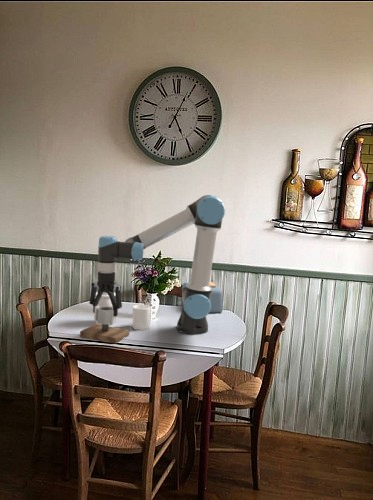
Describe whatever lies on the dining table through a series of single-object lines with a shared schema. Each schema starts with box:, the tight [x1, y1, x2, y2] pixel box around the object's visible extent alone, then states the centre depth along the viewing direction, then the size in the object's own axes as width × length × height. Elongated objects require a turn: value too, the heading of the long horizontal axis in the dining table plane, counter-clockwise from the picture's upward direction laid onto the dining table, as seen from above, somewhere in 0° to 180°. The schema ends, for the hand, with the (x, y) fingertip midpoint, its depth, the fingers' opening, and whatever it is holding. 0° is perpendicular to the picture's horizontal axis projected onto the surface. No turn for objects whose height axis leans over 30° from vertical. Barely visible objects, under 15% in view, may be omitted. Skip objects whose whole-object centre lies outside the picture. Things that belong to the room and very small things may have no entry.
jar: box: [95, 291, 116, 326], centre depth 224 cm, size 11×10×15 cm
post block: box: [79, 323, 130, 344], centre depth 206 cm, size 18×12×8 cm, turn 69°
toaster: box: [208, 281, 224, 314], centre depth 257 cm, size 16×16×16 cm
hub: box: [97, 306, 113, 325], centre depth 206 cm, size 8×8×6 cm
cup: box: [132, 304, 152, 331], centre depth 223 cm, size 8×12×10 cm
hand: (105, 321), depth 206 cm, fingers closed on hub, 8 cm apart
